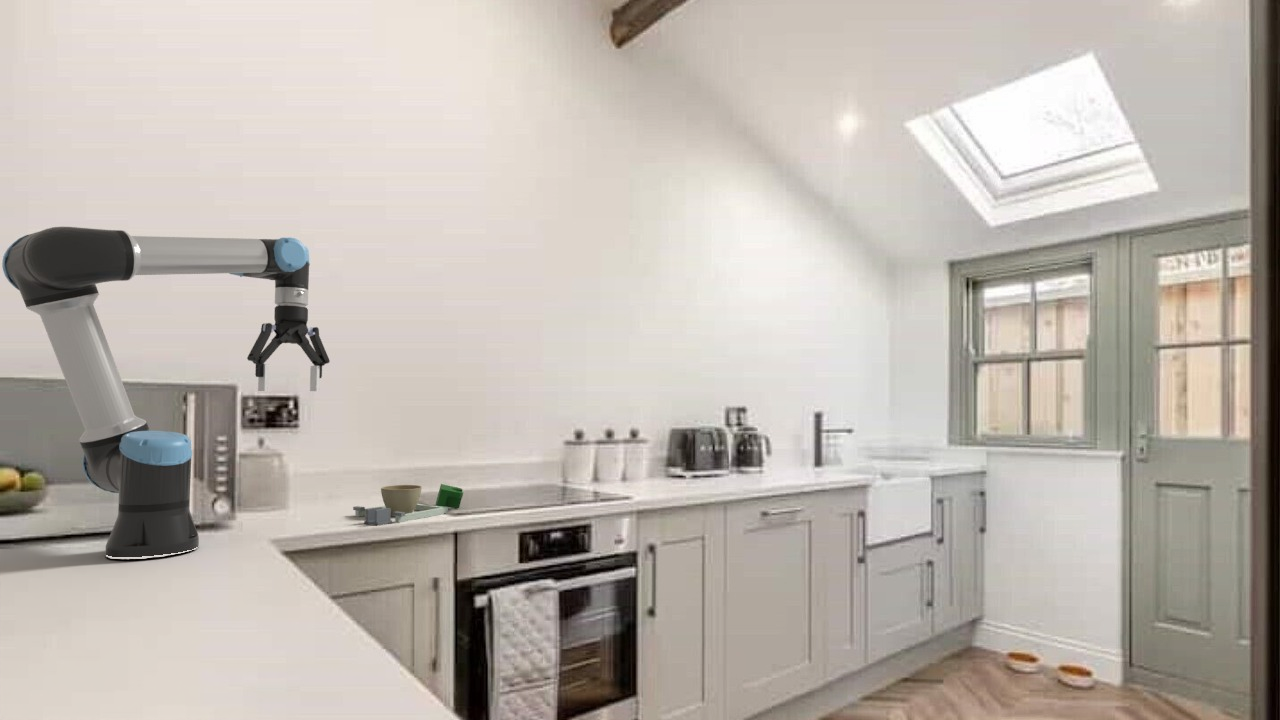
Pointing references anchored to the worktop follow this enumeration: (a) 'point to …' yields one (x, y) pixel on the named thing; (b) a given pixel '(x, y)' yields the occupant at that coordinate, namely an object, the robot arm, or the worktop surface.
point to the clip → (378, 516)
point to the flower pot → (401, 497)
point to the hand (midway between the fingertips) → (289, 391)
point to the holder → (401, 516)
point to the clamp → (449, 496)
